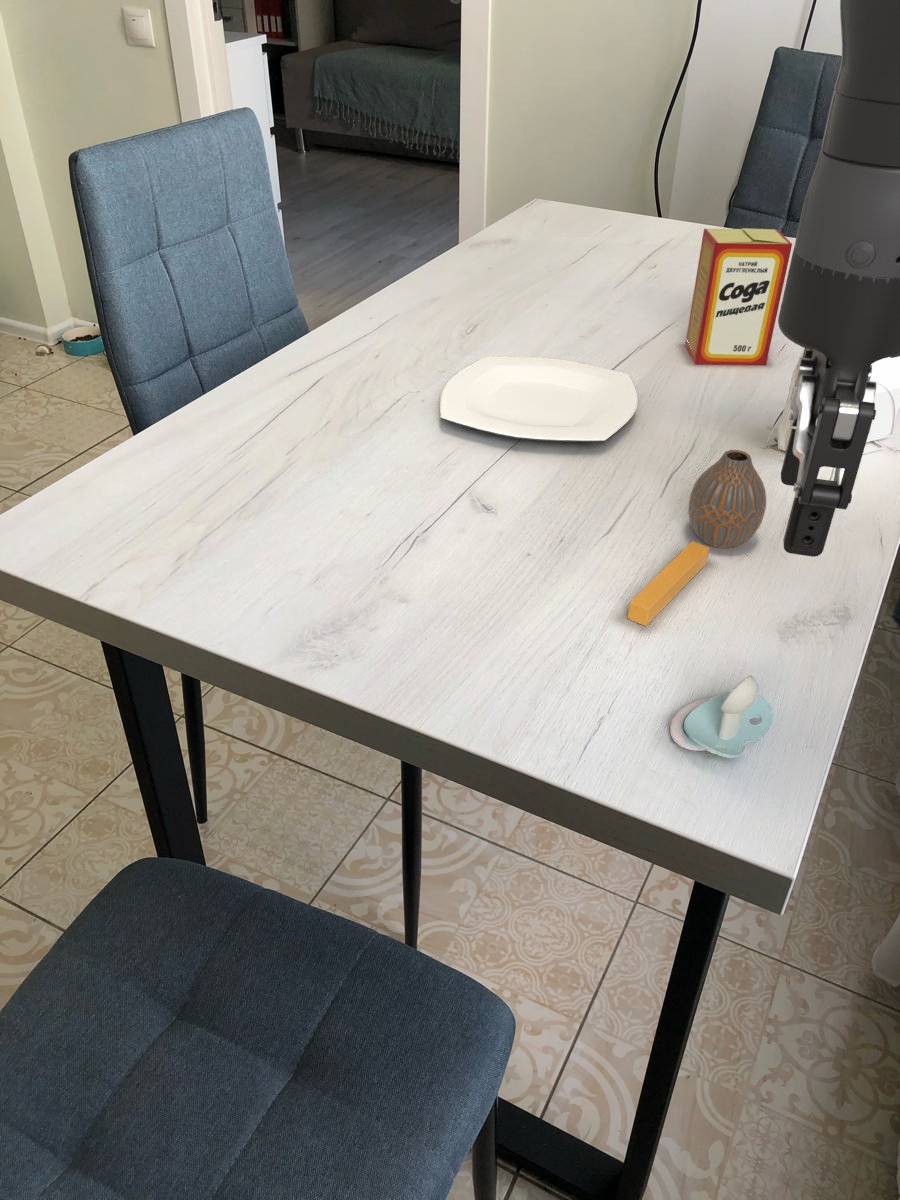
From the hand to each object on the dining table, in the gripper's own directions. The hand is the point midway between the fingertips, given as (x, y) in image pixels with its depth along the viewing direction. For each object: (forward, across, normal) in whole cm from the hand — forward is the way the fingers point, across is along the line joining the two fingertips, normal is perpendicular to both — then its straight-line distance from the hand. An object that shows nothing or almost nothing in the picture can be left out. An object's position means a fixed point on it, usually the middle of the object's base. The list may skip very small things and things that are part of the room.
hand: (798, 515), depth 59 cm
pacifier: (+18, -2, +2) cm, 18 cm away
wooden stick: (+18, +16, +7) cm, 25 cm away
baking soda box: (+18, +74, +3) cm, 76 cm away
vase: (+18, +26, +2) cm, 32 cm away
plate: (+18, +50, +25) cm, 58 cm away
